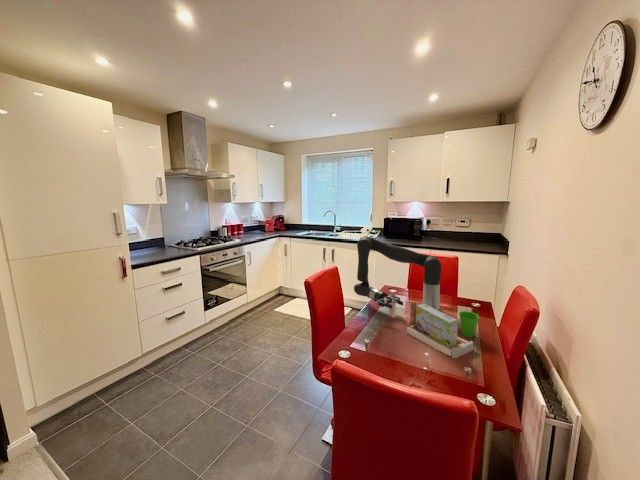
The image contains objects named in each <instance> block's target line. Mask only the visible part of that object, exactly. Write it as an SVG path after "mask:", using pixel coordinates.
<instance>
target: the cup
mask: <svg viewBox="0 0 640 480" xmlns="http://www.w3.org/2000/svg"><path fill="white" fill-rule="evenodd" d="M458 316H459V321H460V322H459V323H460V329H461V335H462V336H463V337H465V338H473V337H474V335H475V332H476V328H477V325H478V322H479V321H478V320H479V319H480V316H479V314H477V313H476V312H472V311H468V310H463V311H459V313H458Z"/></svg>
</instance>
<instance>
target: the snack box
mask: <svg viewBox="0 0 640 480" xmlns="http://www.w3.org/2000/svg"><path fill="white" fill-rule="evenodd" d="M458 325H459V320H458V319H457V318H454V317H452V316H450V315H448V314H446V313H444V312H442V311H440V310H436V309H434V308H432V307H430V306H428V305H426V304H424V303H423V302H422V303H421V304H417V305H416V330H418V331H420V332H422V333H424V334H426V335H427V336H429V337H431V338H433V339H435V340H437V341H439V342H441V343H443V344H444V345H446V346H448V347H450V348H453V347H455V346H457V337H458V328H459V327H458Z"/></svg>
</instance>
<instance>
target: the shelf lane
mask: <svg viewBox="0 0 640 480" xmlns="http://www.w3.org/2000/svg"><path fill="white" fill-rule="evenodd" d="M406 333H407V334H408V333H409V335H410V336H411V337H414V338H415V337H416V338H415V339H417V340H419V341H421V342H423V343H424V342H425V343H424V344H426V345H428V346H430V347H431V346H432V348H433V347H434V348H433V349H435V350H437V351H439V352H440V351H441V352H440V353H442V352H443V353H442V354H444V353H445V354H444V355H446V354H447V355H449V356H452V357H453V358H457V357H459V356H461V355H462V356H465V355H466V354H468V353H470V352H472V351H473V350H474V341H472V340H469V341H467V340H466V339H463V338H461V337H459V336H457V339H459V340H461V341H463V342H465V344H463V345H461V346H459V347H457V348H455V349H453V350H450V349H448V348H447V347H445V346H443V345H441V344H439V343H437V342H435V341H434V340H432V339H430V338H428V337H426V336H424V335H422V334H420V333H419V332H417V331H415V330H413V329H411V328H409V326H407V327H406ZM447 355H446V356H447ZM449 356H448V357H449ZM462 356H461V357H462ZM452 357H451V358H452ZM453 358H452V359H453ZM459 358H460V357H459ZM457 359H458V358H457Z"/></svg>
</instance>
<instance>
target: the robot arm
mask: <svg viewBox="0 0 640 480" xmlns="http://www.w3.org/2000/svg"><path fill="white" fill-rule="evenodd" d="M356 246H357V255H358V256H357V258H358V262H357V263H358V264H357V272H356V273H357V274H356V277H357V281H358V283H357V284H355V285H354V286H353V291H354V293H355V294H356V295H358V296H361V297H367V298H369V299H370V300H372V301H373V302H376V303H375V304H376V305H378V306H380V307H381V308H384V307H385V308H388V309H390V310H391V309H393V305H392V304H398V305H400V306H403V305H404V301H402V300H401V298H400V297H398V296H396V295H394V294H391V295H392V296H389V295H388V294H387V292H384V291H382V290H380V289H377V288H374V287H373V286H370V282H369V257H370V252H371V251H374V252H377V253H380V254H381V255H383V256H384V257H386V258H387V259H390V260H392V261H394V262H399V263H401V264H411V265H412V264H414V265H417V266H420V267H421V268H423V269H424V271H423V272H424V274H423V283H422V284H423V286H422V287H423V289H422V290H423V291H422V304H423V303H424V304H426V305H428V306H430V307H432V308H434V309H436V310H438V311H440V305H441V293H440V290H441V288H440V286H441V278H442V262H441V261H440V260H439V258H438V257H436V256H434V255H428V254H424V253H420V252H416V251H414V250H411V249H407V248H404V247H401V246H398V245H394V244H391V243H388V242H385V241H381V240H377V239H376V238H372V237H371V236H366V235H363V236H360V238H359V240H358V241H357V243H356Z"/></svg>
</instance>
